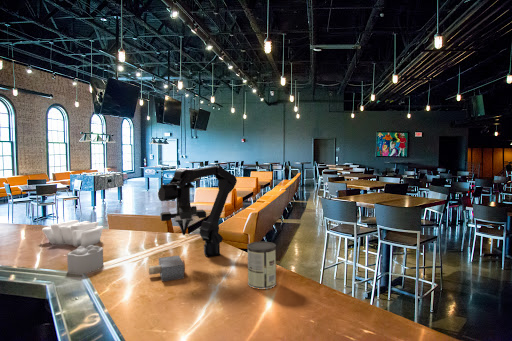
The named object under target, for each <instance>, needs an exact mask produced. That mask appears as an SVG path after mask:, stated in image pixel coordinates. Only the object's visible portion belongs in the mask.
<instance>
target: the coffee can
mask: <svg viewBox="0 0 512 341" xmlns="http://www.w3.org/2000/svg"><path fill="white" fill-rule="evenodd" d="M246 247H247V286H248V285H249V286H250V287H249V288H251V287H254V288H259V289H264V288H265V289H266V290H269V289H268V288H270V289H273V288H274V286H275V285H276V286H277V255H276V254H277V244H276V243H274V242H270V241H265V240H264V241H252V242H250V243H247V245H246ZM276 286H275V287H276ZM272 287H273V288H272Z"/></svg>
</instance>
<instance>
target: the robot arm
mask: <svg viewBox="0 0 512 341" xmlns="http://www.w3.org/2000/svg"><path fill="white" fill-rule="evenodd" d="M211 176H214V178H215V179H216V180H217V181H218V184H217V186H218V187H217V188H218V191H217V194H216V197H215V199H214V203H213V205H212V208H211V210H210V214H209V216H208V218H207V212H206V210H204V209H197V205H193V206H191V189H194V188H195V185H194V184H192V182H195V180H197V179H200V178H205V177H211ZM237 182H238V179H237V177H236V175H234V174H232V173H231V172H230V171H228V170H227V169H225V168H224V167H223V166H221V165H213V166H207V167H201V168H197V169H177V170H175V172H174V174H173V176H172V178H171V180H170V182H169V183H168V184H160V187H159V188H158V192H157V197H158V199H159V201H160V202H169V201H175V200H176V201H175V202H176V204H175V205H176V212H175V213H171V211H164V212H163V211H162V212H160V215H159V216H160V217H159V218H160V221H161V222H166V221H171V220H172V219H173V220H174V221H175V223H177V224H178V226H179V229H180V231H181V233H182V236H185V235H186V233H187V230H188V226H189V224H190V223H191V222H192V221H193V220H194V217H197V218H198V219H205V218H207V219H206V221H205V220H203V221H201V225H200V227H199V235H200V237H201V238H202V241H204V245H203V253H204V255H205V256H206V258H211V257H218V256H221V254H222V253H221V252H220V250H221V249H220V248H221V245H220V244H221V243H223V240H224V238H223V236H222V235H221V234H220V233H219V231H220V225H219V222H220V220H221V219H220V218H221V215H222V213H223V210H224V208H225V205H226V202H227V200H228V197H229V194H230V193H231V192H232V191H233V190H234V188H235V187H236V185H237Z"/></svg>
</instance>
